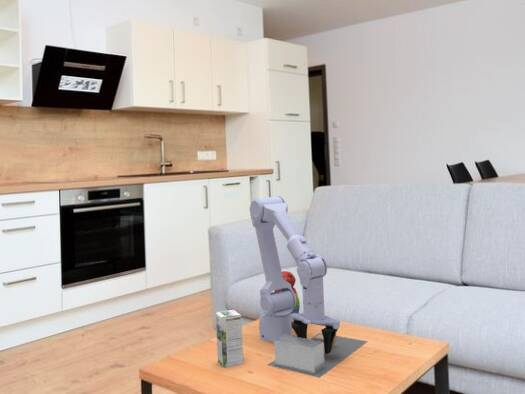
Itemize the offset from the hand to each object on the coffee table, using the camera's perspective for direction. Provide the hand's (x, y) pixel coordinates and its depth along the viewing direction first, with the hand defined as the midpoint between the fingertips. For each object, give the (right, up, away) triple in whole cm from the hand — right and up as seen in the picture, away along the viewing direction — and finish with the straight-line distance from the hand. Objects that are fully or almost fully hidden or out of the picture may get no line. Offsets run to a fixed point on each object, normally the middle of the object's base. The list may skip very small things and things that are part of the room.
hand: (315, 350), depth 138 cm
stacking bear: (-6, -1, +32) cm, 33 cm away
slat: (0, -1, 0) cm, 1 cm away
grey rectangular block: (-5, -2, -7) cm, 9 cm away
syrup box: (-23, -4, -1) cm, 24 cm away
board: (+1, -2, +2) cm, 3 cm away
